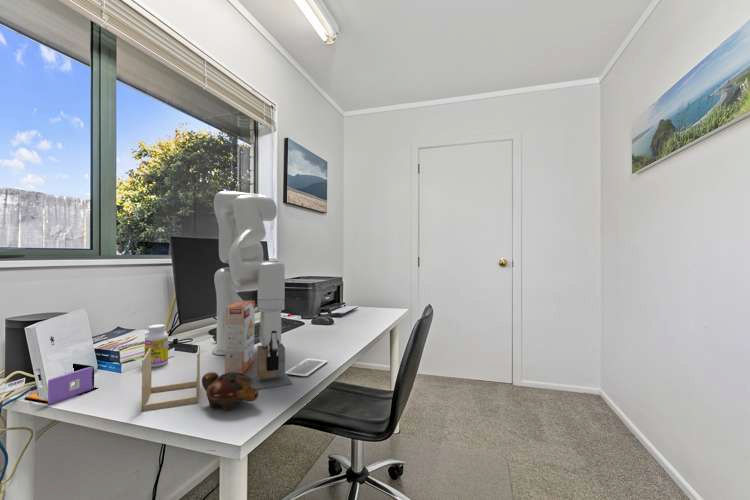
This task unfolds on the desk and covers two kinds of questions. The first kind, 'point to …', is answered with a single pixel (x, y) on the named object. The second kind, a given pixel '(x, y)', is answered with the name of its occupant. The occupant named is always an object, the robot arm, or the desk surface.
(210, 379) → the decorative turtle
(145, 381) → the wooden rack
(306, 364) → the touchpad
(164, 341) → the supplement bottle
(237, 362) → the cracker box
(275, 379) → the rubber mat
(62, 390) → the toy room diorama
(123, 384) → the desk surface
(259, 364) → the box
